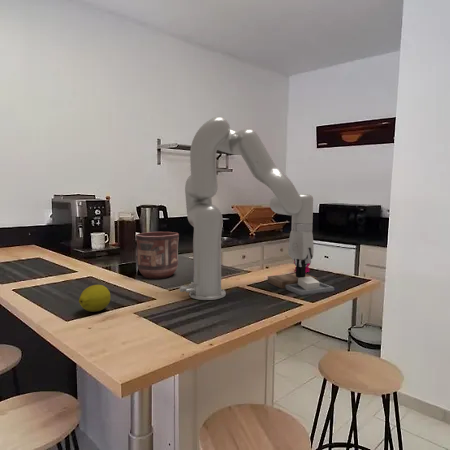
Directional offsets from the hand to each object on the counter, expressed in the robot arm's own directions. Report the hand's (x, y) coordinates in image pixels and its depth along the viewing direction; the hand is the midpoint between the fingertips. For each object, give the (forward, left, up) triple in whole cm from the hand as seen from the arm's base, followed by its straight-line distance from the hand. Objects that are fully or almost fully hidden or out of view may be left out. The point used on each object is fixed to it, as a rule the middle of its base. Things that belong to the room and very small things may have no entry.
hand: (300, 276), depth 140 cm
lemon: (-73, +2, -4) cm, 73 cm away
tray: (0, -5, -4) cm, 6 cm away
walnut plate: (0, +6, -4) cm, 7 cm away
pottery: (-44, +41, -4) cm, 60 cm away
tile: (+1, -4, -3) cm, 5 cm away
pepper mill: (+16, +22, -4) cm, 28 cm away
